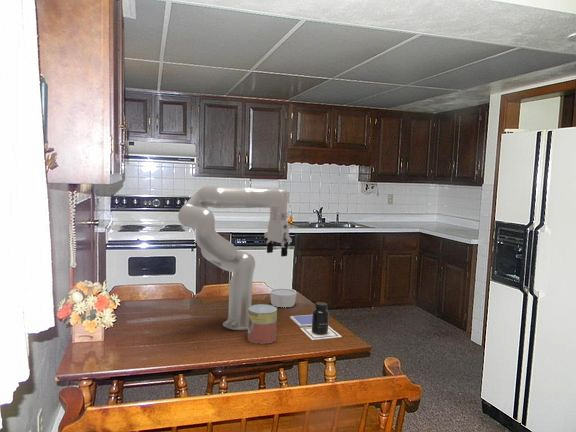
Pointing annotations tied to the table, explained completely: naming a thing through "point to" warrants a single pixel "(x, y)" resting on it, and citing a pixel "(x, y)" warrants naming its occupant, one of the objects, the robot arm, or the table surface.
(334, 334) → the marked card
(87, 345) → the table surface
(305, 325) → the ink pad
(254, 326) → the canned food
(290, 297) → the ramekin
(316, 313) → the supplement bottle
